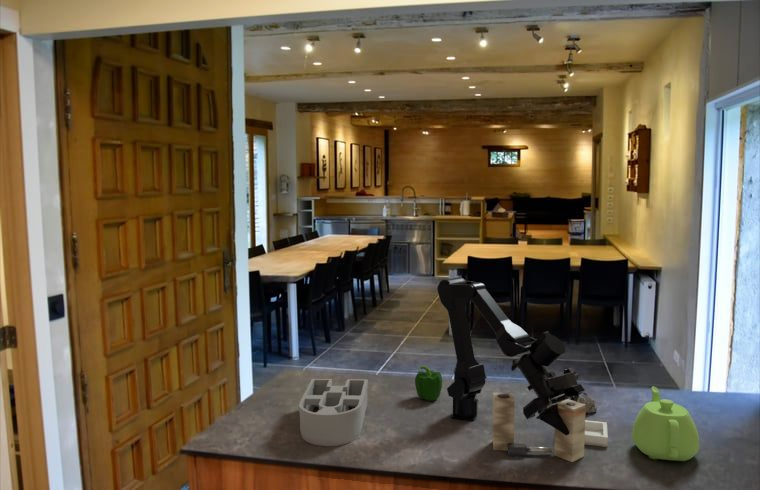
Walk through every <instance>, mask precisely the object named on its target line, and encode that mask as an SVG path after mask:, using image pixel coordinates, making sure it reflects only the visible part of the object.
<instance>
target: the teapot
mask: <svg viewBox="0 0 760 490" xmlns="http://www.w3.org/2000/svg"><path fill="white" fill-rule="evenodd" d="M659 391H660V390H659V388H658V387H656V386H651V394H652V395H651V401H649V402H646V403H645V404H644V405H643V407H641V409H640V411H638V414H637V416H636V417H635V419H634V422H633V425H632V428H631V429H632V430H631V438H632V440H633V442H634V444H635V446H636V447H637V449H639V451H640V452H642V454H645V455H647V457H648V458H649V459H653V460H667V461H678V462H679V461H680V462H686V461H689V460H691V459H692V458H693V457H694V456H696V454H697V453H698V452H699V450H700V437H699V432H698V429H697V427H696V423H695V422H694V420H693V418H692V416H691V414H690V413H689V411H688V409H686V408H685V407H684V406H682V405H680V404H677V403H674V401H673V400H671V399H666V398H665V399H664V398H663V399H661V396H660V392H659Z"/></svg>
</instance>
